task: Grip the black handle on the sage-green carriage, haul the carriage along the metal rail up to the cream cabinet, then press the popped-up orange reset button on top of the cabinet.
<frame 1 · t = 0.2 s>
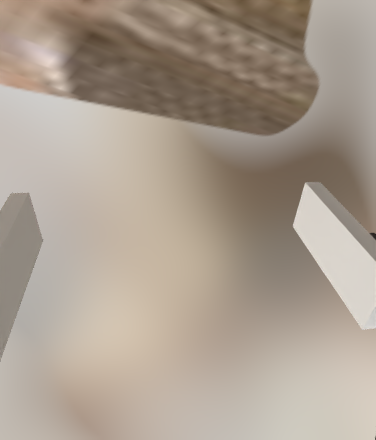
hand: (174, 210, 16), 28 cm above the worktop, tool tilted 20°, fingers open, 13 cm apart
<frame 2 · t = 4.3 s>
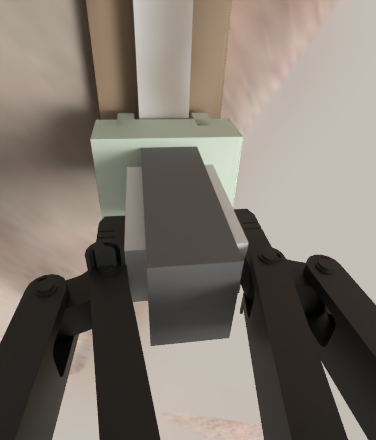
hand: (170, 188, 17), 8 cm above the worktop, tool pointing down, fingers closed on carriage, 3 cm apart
track: (159, 15, 19), on the worktop
carriage: (173, 203, 16), point 9 cm above the worktop, slide at 0.0 cm, touching gripper
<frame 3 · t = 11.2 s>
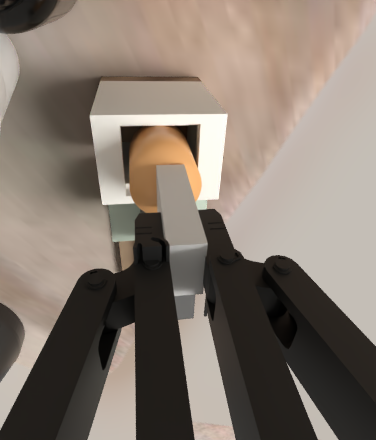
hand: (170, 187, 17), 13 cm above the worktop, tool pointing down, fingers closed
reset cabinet: (151, 113, 28), resting on track
track: (154, 191, 33), on the worktop
reset button: (162, 167, 20), point 11 cm above the worktop, slide at 0.7 cm, touching gripper, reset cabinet
carriage: (161, 232, 25), point 9 cm above the worktop, slide at 9.2 cm
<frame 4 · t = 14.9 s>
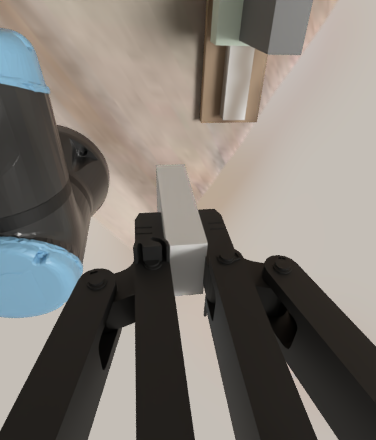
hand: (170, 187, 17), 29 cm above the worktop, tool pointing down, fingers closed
track: (236, 30, 40), on the worktop
carriage: (263, 20, 31), point 9 cm above the worktop, slide at 9.2 cm
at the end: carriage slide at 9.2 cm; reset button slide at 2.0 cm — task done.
